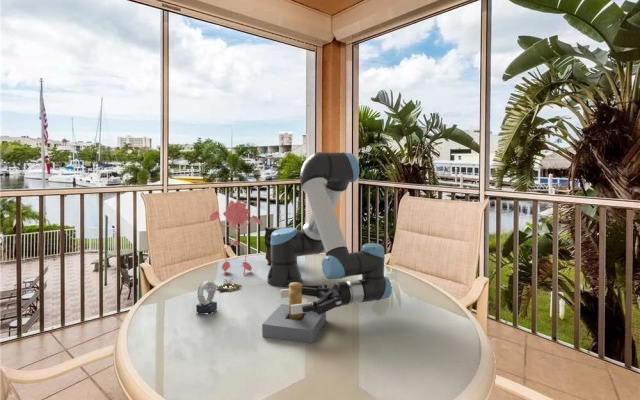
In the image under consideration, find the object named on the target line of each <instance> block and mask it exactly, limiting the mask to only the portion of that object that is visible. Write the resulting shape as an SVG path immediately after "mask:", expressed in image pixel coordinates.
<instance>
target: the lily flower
mask: <svg viewBox="0 0 640 400" xmlns="http://www.w3.org/2000/svg"><path fill="white" fill-rule="evenodd" d="M233 279H234V278H232V277H230V279H229V280H228V279H226V278H224V279H223V280H224V281H223V282H222V283H223V284H220V285H221V286H219V287H218V285H216V286H217V288H218V289H217V290H219V291H220V289H224V288H223V287H225V286H227V288H225V289H224V290H227V291H229V292H230V291H232V292H233V289H234V290H235V291H236V289H235V288H234V287H237V288H239V289H238V290H241V287H242V285H240V284H238V283H237V284H235V282H232V281H233ZM232 284H234V285H232ZM222 285H223V286H222ZM229 286H232V287H233V288H232V287H229ZM219 288H220V289H219ZM230 288H231V289H230Z"/></svg>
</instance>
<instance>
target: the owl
mask: <svg viewBox="0 0 640 400" xmlns="http://www.w3.org/2000/svg"><path fill="white" fill-rule="evenodd" d="M281 228H289V226H285V227H283V226H280V227H279V226H274V227H266V226H265V227H264V231H265V233H264V245H265V248H266V250H265V259H266V261H267V266H269V267H271V244H270V241H271V234H272V232H274V231H275V230H278V229H281Z"/></svg>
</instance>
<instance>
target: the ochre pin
mask: <svg viewBox="0 0 640 400" xmlns="http://www.w3.org/2000/svg"><path fill="white" fill-rule="evenodd" d="M288 289H289V297H288V305H289V319H291V320H300V321H301V320H302V313H299V314H293V315H291V305H294V304H301V303H303V299H302V298H303V297H302V283H301V282H300V283H299V282H292V283H290V284H289V286H288Z"/></svg>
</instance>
